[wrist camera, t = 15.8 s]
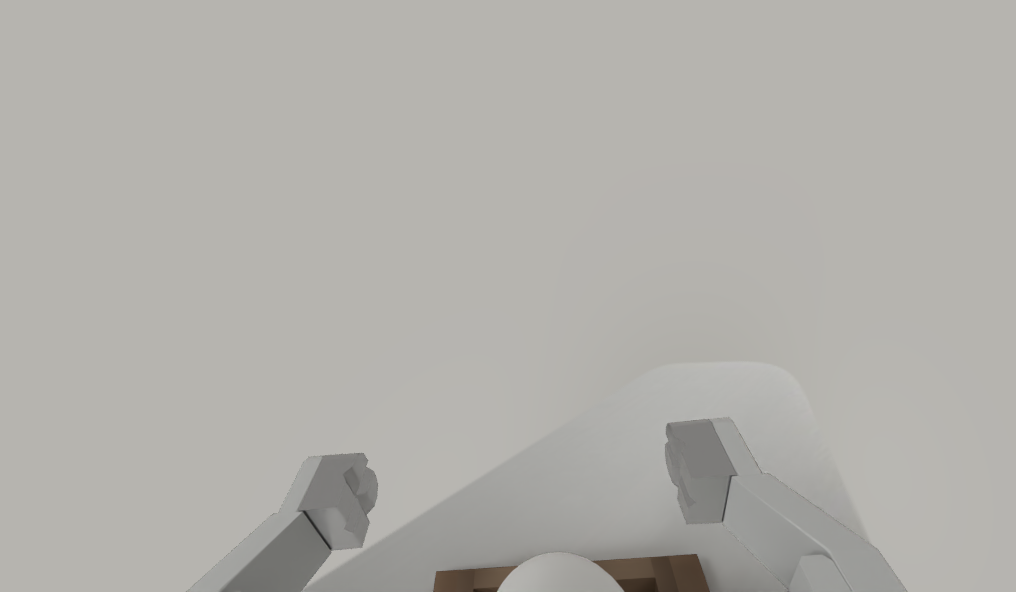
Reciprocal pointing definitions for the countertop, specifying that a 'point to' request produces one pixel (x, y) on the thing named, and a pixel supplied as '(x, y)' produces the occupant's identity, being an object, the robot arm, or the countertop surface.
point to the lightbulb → (559, 575)
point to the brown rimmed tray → (645, 581)
